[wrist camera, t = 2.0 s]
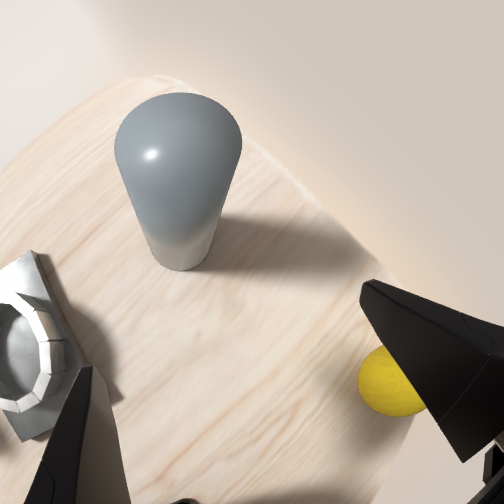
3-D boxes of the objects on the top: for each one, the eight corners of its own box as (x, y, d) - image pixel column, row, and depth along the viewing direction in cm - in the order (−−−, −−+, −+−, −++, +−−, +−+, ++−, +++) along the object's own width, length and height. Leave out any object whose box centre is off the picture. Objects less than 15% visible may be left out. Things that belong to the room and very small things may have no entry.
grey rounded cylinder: (222, 251, 23) (266, 162, 11) (168, 282, 22) (147, 222, 9) (191, 201, 23) (203, 78, 11) (139, 229, 22) (97, 123, 10)
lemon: (389, 333, 24) (456, 329, 17) (398, 391, 23) (464, 403, 15) (334, 352, 23) (396, 359, 15) (346, 415, 22) (407, 441, 14)
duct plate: (109, 396, 19) (95, 408, 15) (28, 438, 16) (7, 452, 12) (36, 253, 20) (15, 240, 16) (-34, 305, 17) (-60, 300, 14)
